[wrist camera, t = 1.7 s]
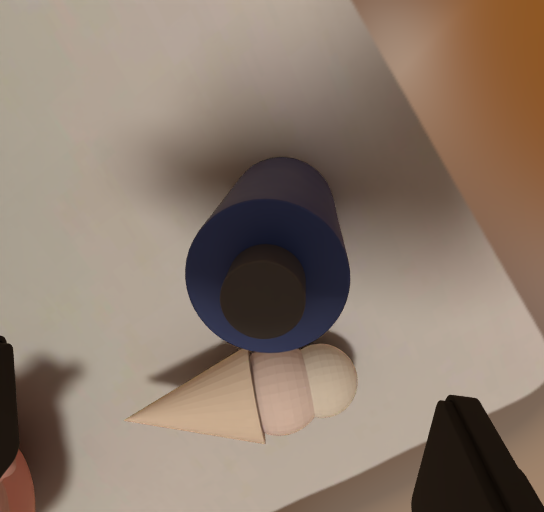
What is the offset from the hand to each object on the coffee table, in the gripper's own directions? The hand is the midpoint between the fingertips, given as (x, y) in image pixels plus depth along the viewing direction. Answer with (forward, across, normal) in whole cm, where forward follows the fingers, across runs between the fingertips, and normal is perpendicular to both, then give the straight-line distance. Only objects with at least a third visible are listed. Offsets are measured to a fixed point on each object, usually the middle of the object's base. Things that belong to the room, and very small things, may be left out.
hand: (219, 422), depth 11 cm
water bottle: (+21, -1, 0) cm, 21 cm away
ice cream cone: (+21, 0, +12) cm, 24 cm away
